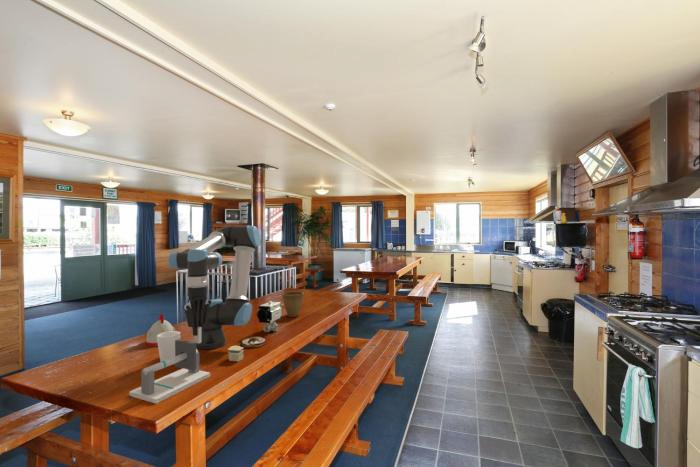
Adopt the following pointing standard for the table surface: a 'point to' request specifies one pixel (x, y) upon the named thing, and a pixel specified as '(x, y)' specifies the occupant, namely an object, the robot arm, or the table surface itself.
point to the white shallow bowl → (253, 342)
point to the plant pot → (293, 302)
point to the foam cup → (167, 344)
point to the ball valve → (270, 315)
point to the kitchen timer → (158, 330)
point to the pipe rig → (167, 380)
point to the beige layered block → (235, 353)
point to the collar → (190, 349)
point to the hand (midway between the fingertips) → (197, 342)
